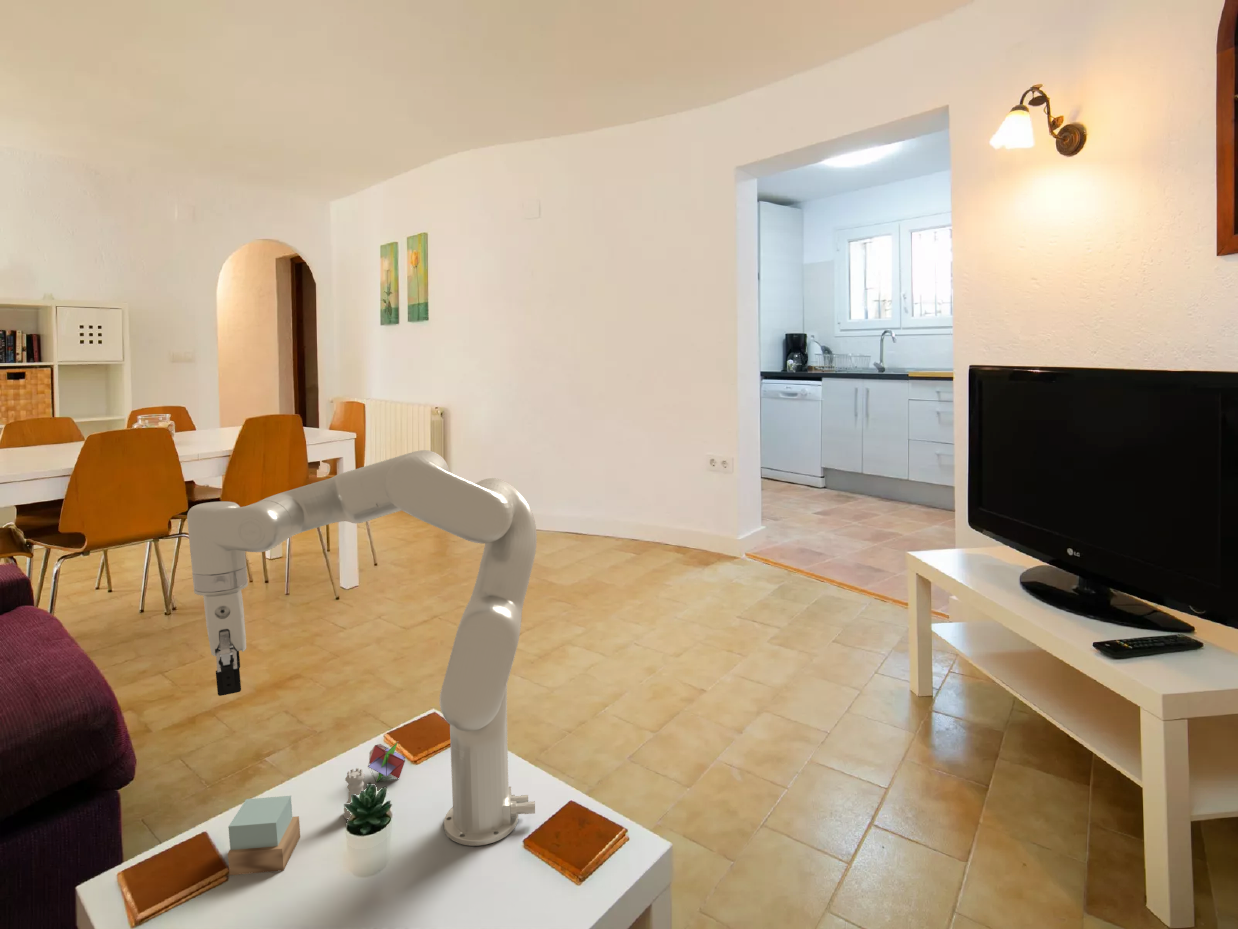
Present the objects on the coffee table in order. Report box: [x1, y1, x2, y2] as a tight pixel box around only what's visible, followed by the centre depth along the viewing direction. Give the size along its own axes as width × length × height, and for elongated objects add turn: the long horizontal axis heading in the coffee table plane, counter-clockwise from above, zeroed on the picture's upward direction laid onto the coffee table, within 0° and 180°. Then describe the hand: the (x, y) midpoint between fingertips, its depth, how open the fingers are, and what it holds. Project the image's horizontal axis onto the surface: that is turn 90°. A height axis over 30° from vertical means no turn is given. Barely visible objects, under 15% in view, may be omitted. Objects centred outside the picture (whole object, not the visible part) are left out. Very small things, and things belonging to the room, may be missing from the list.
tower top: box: [228, 795, 293, 850], centre depth 112 cm, size 7×7×4 cm
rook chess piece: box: [343, 767, 366, 820], centre depth 122 cm, size 4×4×8 cm
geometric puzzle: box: [367, 741, 406, 783], centre depth 134 cm, size 7×7×8 cm
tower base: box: [227, 816, 301, 876], centre depth 112 cm, size 8×8×4 cm
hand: (229, 681), depth 113 cm, fingers open, 9 cm apart
